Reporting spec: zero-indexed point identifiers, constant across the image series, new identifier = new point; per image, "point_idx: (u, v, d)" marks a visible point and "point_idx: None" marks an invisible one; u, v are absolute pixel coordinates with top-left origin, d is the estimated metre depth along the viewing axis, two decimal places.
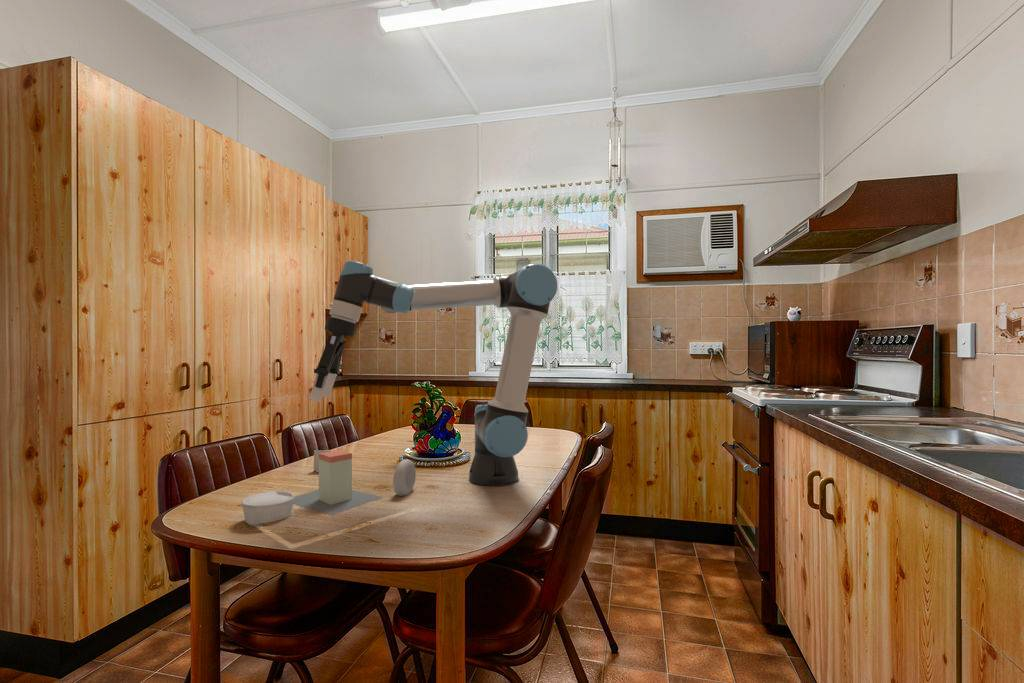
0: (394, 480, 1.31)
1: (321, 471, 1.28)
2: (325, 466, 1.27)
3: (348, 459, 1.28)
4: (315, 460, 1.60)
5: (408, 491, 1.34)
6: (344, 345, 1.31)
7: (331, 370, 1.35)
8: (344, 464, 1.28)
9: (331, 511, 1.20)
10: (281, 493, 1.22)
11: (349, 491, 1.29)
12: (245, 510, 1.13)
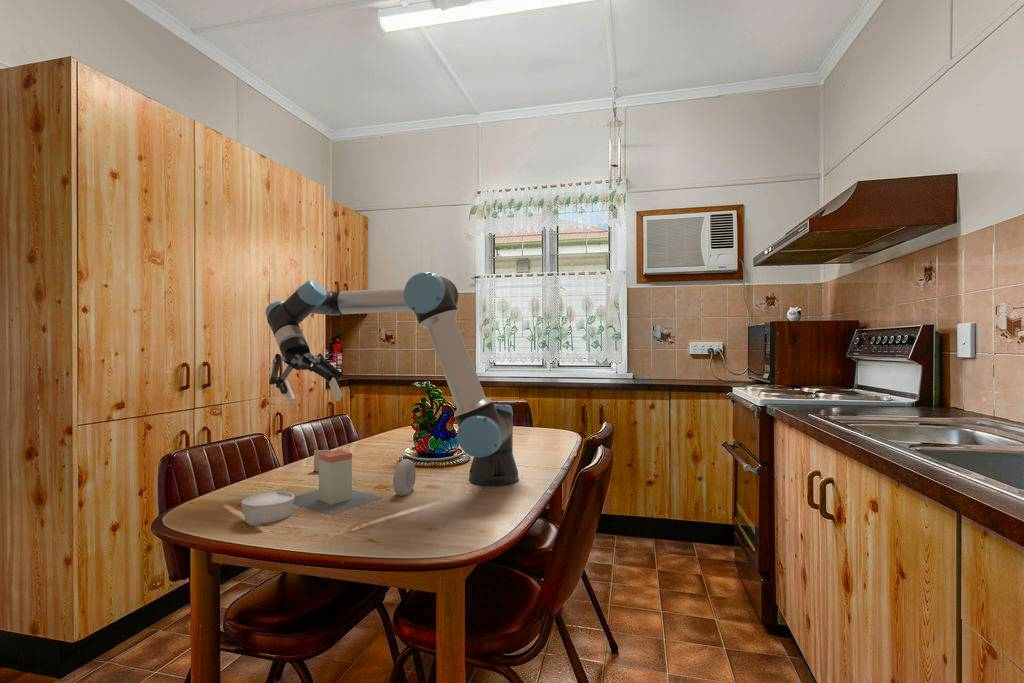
0: (394, 480, 1.31)
1: (321, 471, 1.28)
2: (325, 466, 1.27)
3: (348, 459, 1.28)
4: (315, 460, 1.60)
5: (408, 491, 1.34)
6: (307, 355, 1.43)
7: (331, 379, 1.45)
8: (344, 464, 1.28)
9: (331, 511, 1.20)
10: (281, 494, 1.22)
11: (349, 491, 1.29)
12: (245, 510, 1.13)
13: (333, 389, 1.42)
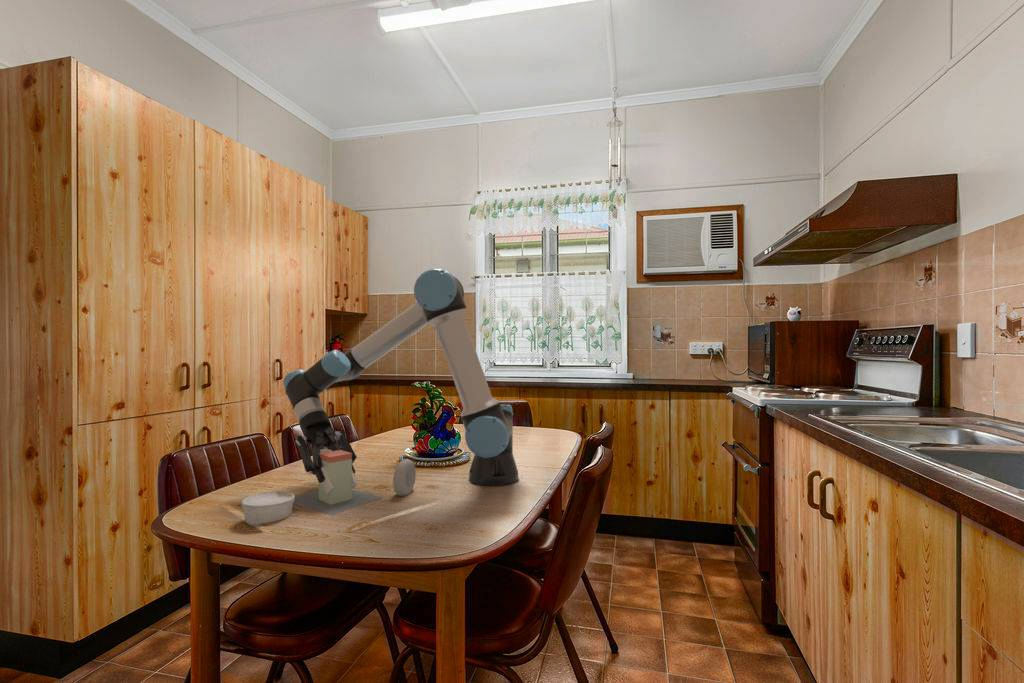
0: (394, 480, 1.31)
1: None
2: (325, 466, 1.27)
3: (348, 459, 1.29)
4: None
5: (408, 491, 1.34)
6: (328, 431, 1.35)
7: None
8: (344, 464, 1.28)
9: (331, 511, 1.20)
10: (281, 493, 1.22)
11: (349, 491, 1.29)
12: (245, 510, 1.13)
13: None
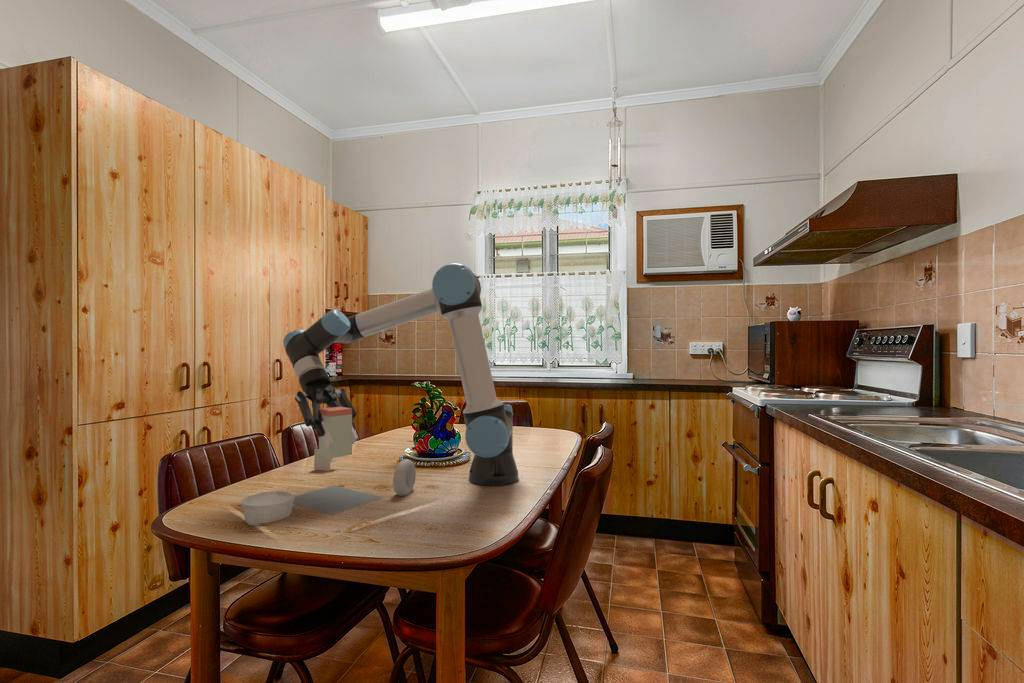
0: (394, 480, 1.31)
1: None
2: (325, 420, 1.27)
3: (348, 414, 1.29)
4: (315, 459, 1.62)
5: (408, 491, 1.34)
6: (328, 388, 1.35)
7: None
8: (344, 418, 1.28)
9: (331, 511, 1.20)
10: (281, 494, 1.22)
11: (349, 446, 1.29)
12: (245, 510, 1.13)
13: None
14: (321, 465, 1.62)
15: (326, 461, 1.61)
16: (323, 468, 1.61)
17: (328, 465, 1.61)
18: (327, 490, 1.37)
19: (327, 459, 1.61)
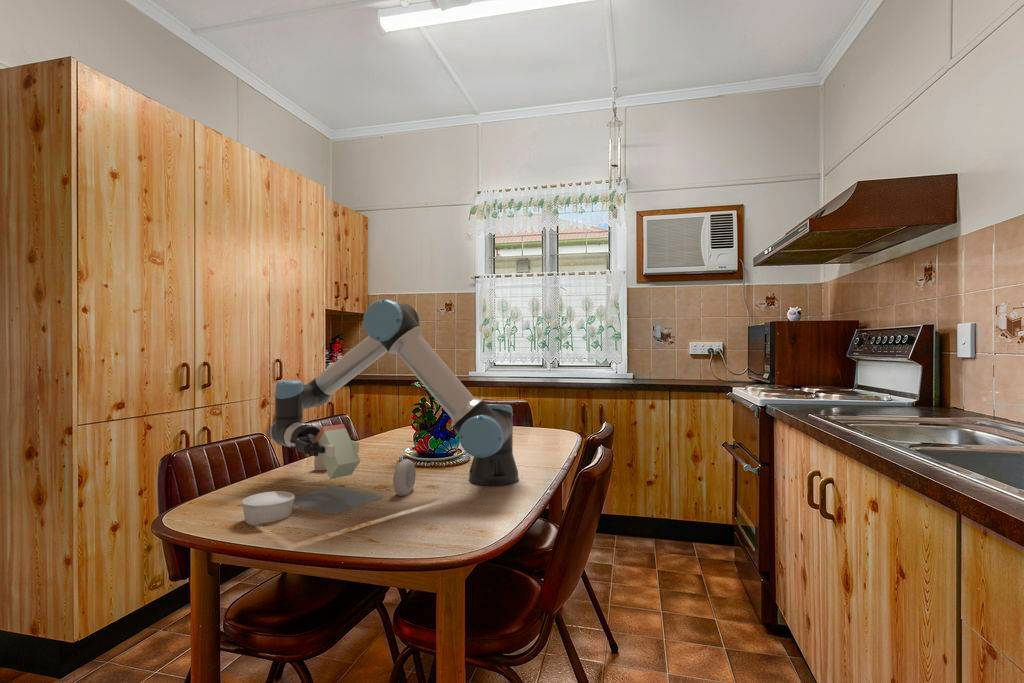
0: (394, 480, 1.31)
1: None
2: (322, 441, 1.28)
3: (342, 428, 1.31)
4: (315, 458, 1.62)
5: (408, 491, 1.34)
6: None
7: None
8: (339, 432, 1.29)
9: (331, 511, 1.20)
10: (281, 493, 1.22)
11: (355, 454, 1.27)
12: (245, 510, 1.13)
13: None
14: (321, 465, 1.62)
15: None
16: (323, 468, 1.62)
17: None
18: (327, 490, 1.37)
19: None
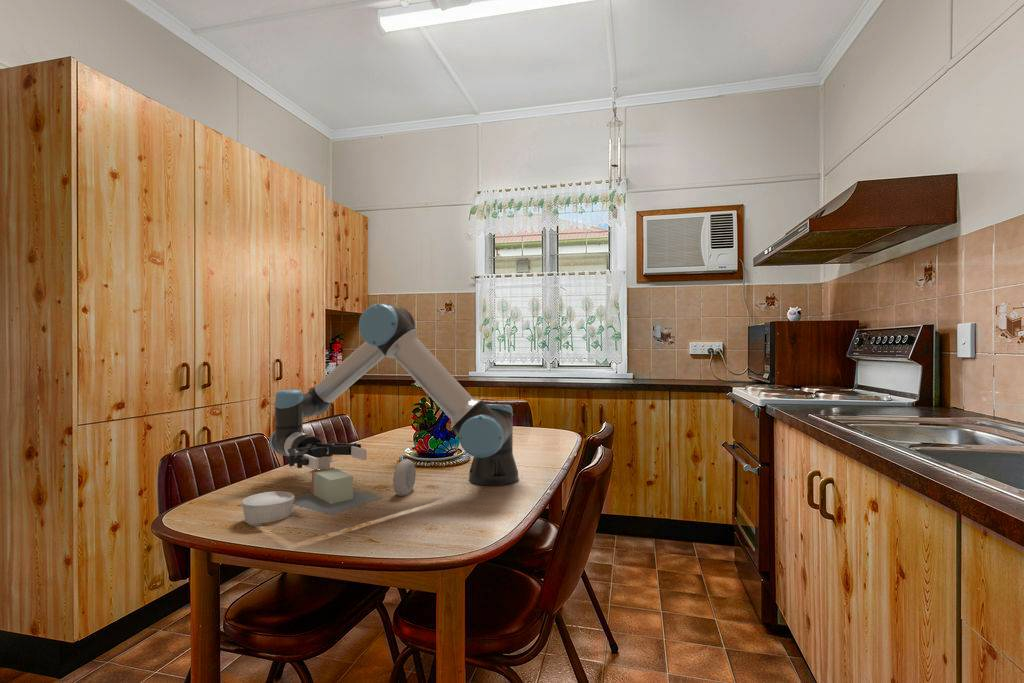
0: (394, 480, 1.31)
1: (318, 491, 1.31)
2: (315, 483, 1.32)
3: (332, 469, 1.36)
4: None
5: (408, 491, 1.34)
6: (320, 442, 1.38)
7: None
8: (329, 470, 1.35)
9: (331, 511, 1.20)
10: (281, 494, 1.22)
11: (346, 474, 1.31)
12: (245, 510, 1.13)
13: (356, 454, 1.34)
14: (321, 465, 1.62)
15: (325, 461, 1.62)
16: (323, 468, 1.62)
17: (328, 465, 1.62)
18: None
19: (327, 459, 1.62)
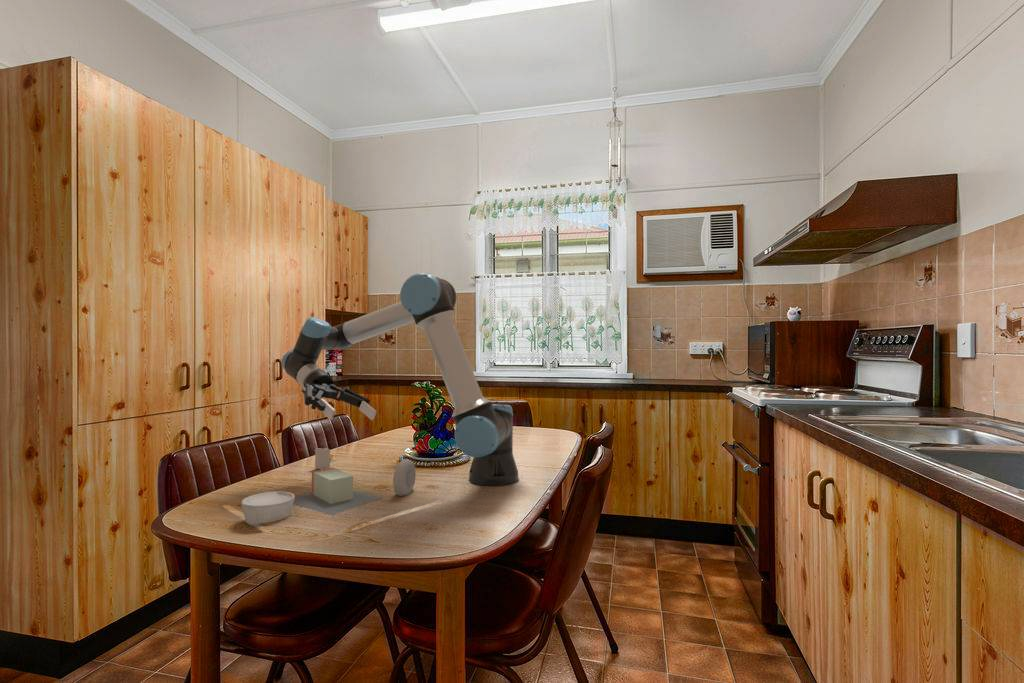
0: (394, 480, 1.31)
1: (318, 491, 1.31)
2: (315, 483, 1.32)
3: (332, 469, 1.36)
4: (316, 458, 1.63)
5: (408, 491, 1.34)
6: (333, 385, 1.44)
7: (360, 404, 1.44)
8: (329, 470, 1.35)
9: (331, 511, 1.20)
10: (281, 494, 1.22)
11: (346, 474, 1.31)
12: (245, 510, 1.13)
13: (365, 411, 1.42)
14: (321, 464, 1.63)
15: (326, 460, 1.62)
16: (323, 467, 1.63)
17: (328, 464, 1.62)
18: None
19: (327, 459, 1.62)
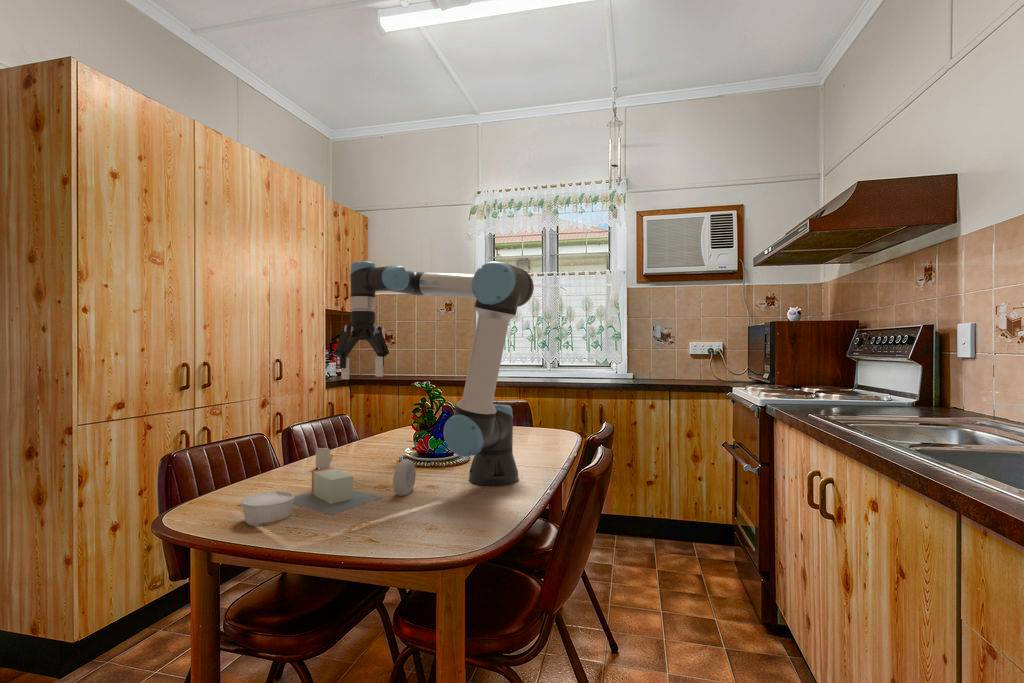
0: (394, 480, 1.31)
1: (318, 491, 1.31)
2: (315, 483, 1.32)
3: (332, 469, 1.36)
4: (317, 457, 1.64)
5: (408, 491, 1.34)
6: (371, 331, 1.57)
7: (379, 354, 1.63)
8: (329, 470, 1.35)
9: (331, 511, 1.20)
10: (281, 493, 1.22)
11: (346, 474, 1.31)
12: (245, 510, 1.13)
13: (377, 365, 1.63)
14: (322, 464, 1.63)
15: (326, 460, 1.63)
16: (323, 467, 1.63)
17: (328, 464, 1.62)
18: None
19: (327, 458, 1.63)
